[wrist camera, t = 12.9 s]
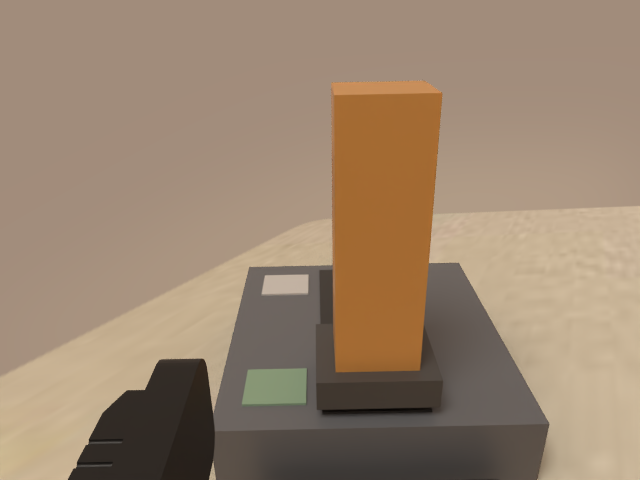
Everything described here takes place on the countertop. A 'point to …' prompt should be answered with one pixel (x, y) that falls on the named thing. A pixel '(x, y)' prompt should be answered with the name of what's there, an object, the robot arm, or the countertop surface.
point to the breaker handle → (380, 248)
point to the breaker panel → (369, 424)
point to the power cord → (480, 479)
